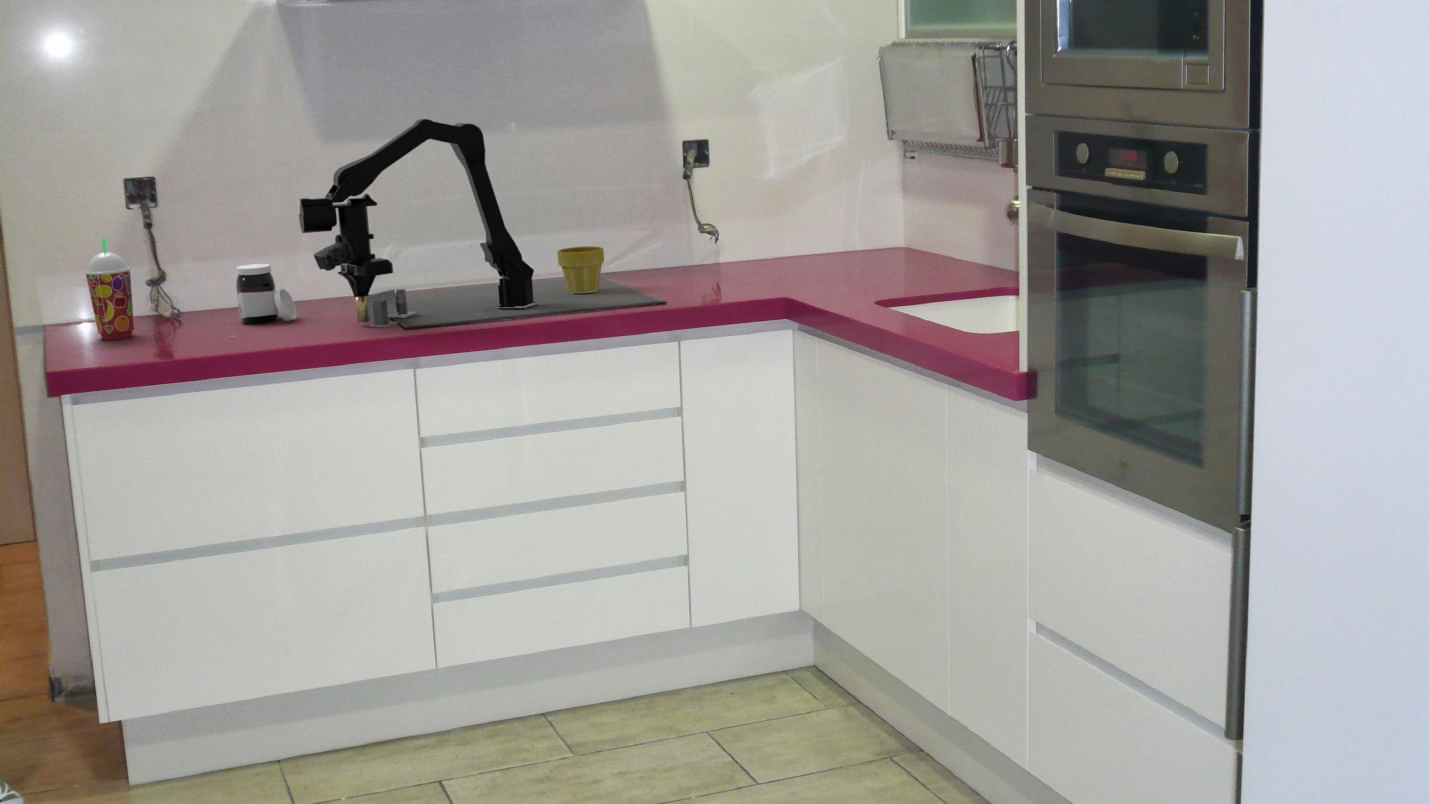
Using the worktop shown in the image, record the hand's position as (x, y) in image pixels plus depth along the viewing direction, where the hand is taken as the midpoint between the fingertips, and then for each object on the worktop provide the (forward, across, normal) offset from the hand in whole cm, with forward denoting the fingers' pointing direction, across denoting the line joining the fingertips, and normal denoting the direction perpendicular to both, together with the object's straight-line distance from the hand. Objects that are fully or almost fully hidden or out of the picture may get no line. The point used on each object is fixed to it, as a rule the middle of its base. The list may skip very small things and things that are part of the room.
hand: (361, 305), depth 288 cm
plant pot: (+4, +6, +52) cm, 52 cm away
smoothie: (+4, -28, -40) cm, 49 cm away
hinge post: (+4, -1, +10) cm, 10 cm away
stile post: (+4, +6, +1) cm, 7 cm away
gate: (+3, +1, +3) cm, 4 cm away
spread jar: (+4, -20, -11) cm, 23 cm away
